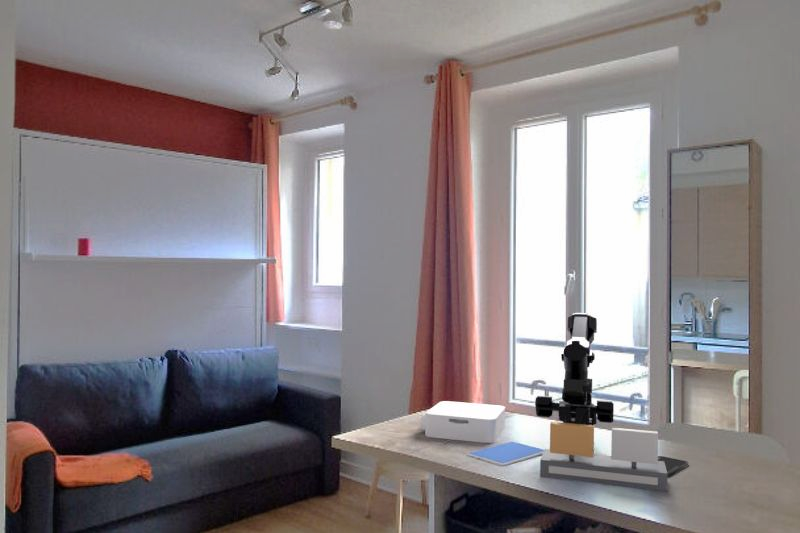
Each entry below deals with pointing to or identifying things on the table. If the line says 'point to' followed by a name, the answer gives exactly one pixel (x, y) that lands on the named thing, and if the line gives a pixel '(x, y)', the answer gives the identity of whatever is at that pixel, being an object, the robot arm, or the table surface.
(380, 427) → the table surface
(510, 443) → the tablet computer
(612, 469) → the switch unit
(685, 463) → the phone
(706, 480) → the table surface
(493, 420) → the projector
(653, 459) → the grey toggle
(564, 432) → the amber toggle
